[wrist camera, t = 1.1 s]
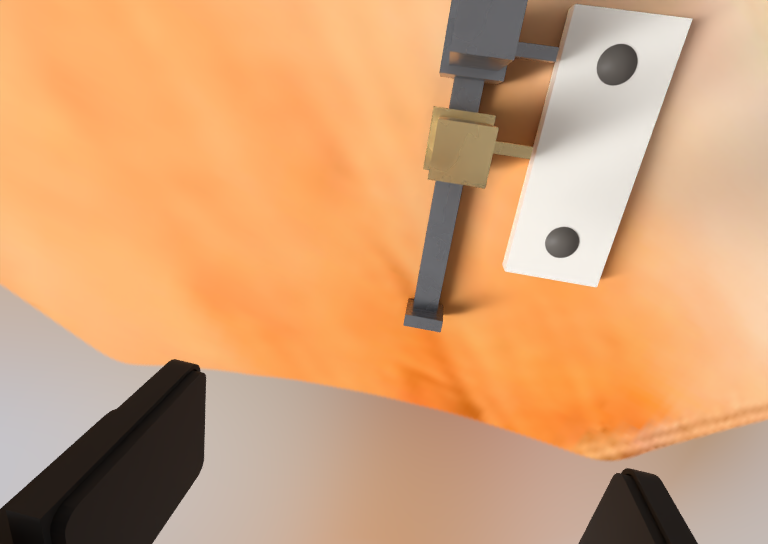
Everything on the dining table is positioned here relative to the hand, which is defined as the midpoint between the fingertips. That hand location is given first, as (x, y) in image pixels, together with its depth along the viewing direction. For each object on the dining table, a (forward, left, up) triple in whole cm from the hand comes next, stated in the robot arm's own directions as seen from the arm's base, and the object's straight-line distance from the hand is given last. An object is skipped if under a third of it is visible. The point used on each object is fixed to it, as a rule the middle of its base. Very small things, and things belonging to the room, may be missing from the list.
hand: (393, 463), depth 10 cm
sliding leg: (-6, +2, -24) cm, 25 cm away
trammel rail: (-2, +2, -26) cm, 26 cm away
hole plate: (-6, +10, -26) cm, 28 cm away
